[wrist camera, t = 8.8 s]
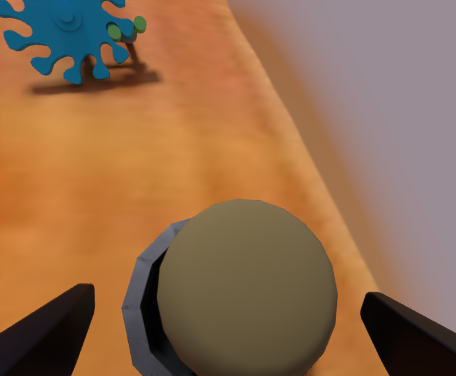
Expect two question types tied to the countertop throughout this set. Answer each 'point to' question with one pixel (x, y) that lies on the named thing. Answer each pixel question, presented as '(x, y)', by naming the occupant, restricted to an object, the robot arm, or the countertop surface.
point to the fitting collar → (151, 313)
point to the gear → (72, 33)
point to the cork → (247, 292)
